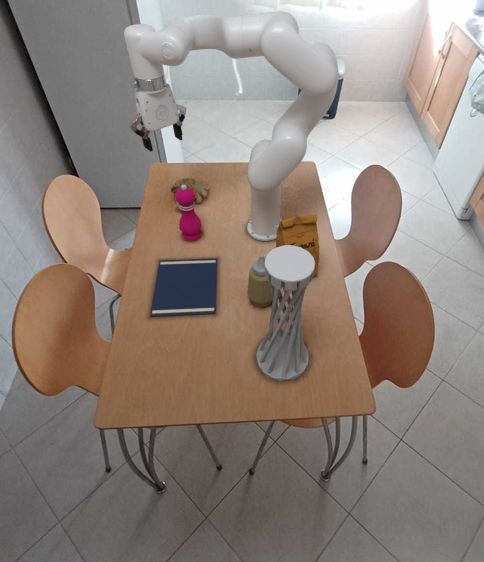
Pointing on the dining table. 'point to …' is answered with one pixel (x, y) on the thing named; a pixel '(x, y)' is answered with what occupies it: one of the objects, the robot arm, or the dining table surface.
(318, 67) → the robot arm
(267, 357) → the twisted lattice pedestal
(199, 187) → the ginger root
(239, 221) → the dining table surface
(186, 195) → the pepper mill
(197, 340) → the dining table surface
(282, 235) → the coffee package
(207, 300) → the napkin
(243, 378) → the dining table surface
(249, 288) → the squeeze bottle
